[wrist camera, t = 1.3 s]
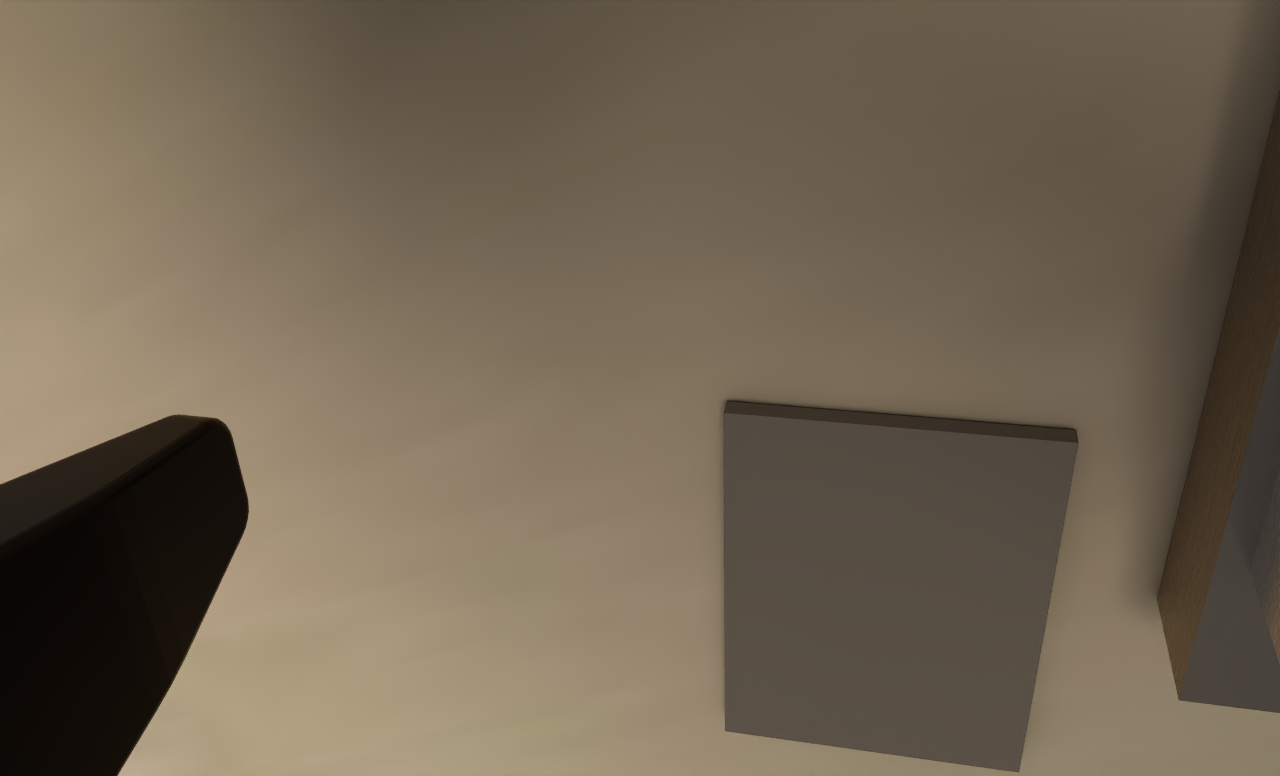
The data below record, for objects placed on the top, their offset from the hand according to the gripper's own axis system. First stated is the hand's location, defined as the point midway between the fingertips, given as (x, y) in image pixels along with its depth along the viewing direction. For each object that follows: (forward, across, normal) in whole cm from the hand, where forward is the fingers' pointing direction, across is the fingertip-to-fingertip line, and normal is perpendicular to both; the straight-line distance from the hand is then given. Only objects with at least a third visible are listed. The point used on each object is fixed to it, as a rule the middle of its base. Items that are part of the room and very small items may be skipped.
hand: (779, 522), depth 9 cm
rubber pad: (+11, -1, +10) cm, 15 cm away
